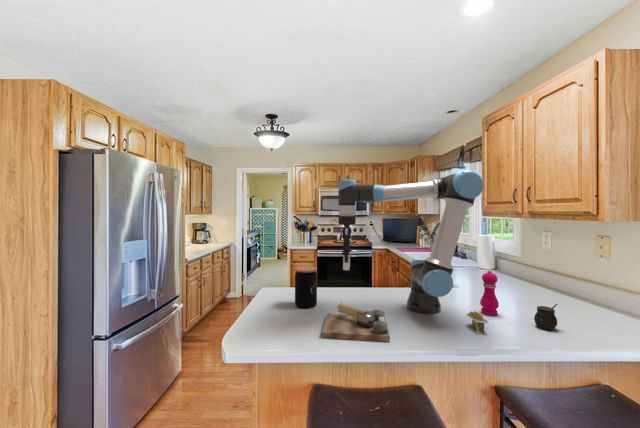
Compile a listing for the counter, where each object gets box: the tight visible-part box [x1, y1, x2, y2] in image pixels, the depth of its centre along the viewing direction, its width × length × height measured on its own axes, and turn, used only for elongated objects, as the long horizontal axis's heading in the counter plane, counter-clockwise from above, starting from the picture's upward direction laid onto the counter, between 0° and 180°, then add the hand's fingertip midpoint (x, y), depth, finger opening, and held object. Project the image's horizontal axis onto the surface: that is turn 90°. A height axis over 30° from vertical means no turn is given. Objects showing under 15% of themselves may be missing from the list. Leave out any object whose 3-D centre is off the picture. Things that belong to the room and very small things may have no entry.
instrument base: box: [321, 309, 391, 343], centre depth 111 cm, size 24×19×5 cm
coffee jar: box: [294, 265, 318, 310], centre depth 139 cm, size 11×11×18 cm
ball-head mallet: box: [337, 303, 375, 327], centre depth 114 cm, size 16×7×5 cm, turn 48°
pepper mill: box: [480, 268, 499, 317], centre depth 129 cm, size 7×7×20 cm
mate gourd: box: [533, 303, 558, 331], centre depth 114 cm, size 7×8×10 cm
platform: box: [466, 310, 489, 333], centre depth 113 cm, size 12×18×7 cm, turn 1°
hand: (346, 268), depth 125 cm, fingers open, 7 cm apart
